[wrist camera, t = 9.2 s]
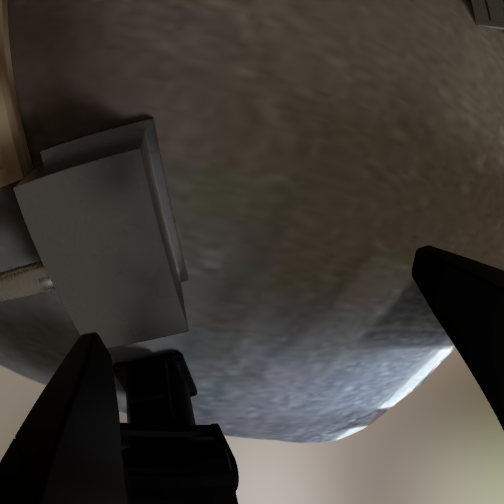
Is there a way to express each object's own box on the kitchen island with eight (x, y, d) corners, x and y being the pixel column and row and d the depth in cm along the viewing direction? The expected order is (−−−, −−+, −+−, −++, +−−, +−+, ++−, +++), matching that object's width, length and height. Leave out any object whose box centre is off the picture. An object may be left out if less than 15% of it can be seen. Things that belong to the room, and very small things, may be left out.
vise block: (187, 275, 22) (199, 335, 17) (17, 313, 20) (-3, 370, 15) (153, 117, 16) (149, 133, 11) (-42, 186, 14) (-89, 226, 9)
